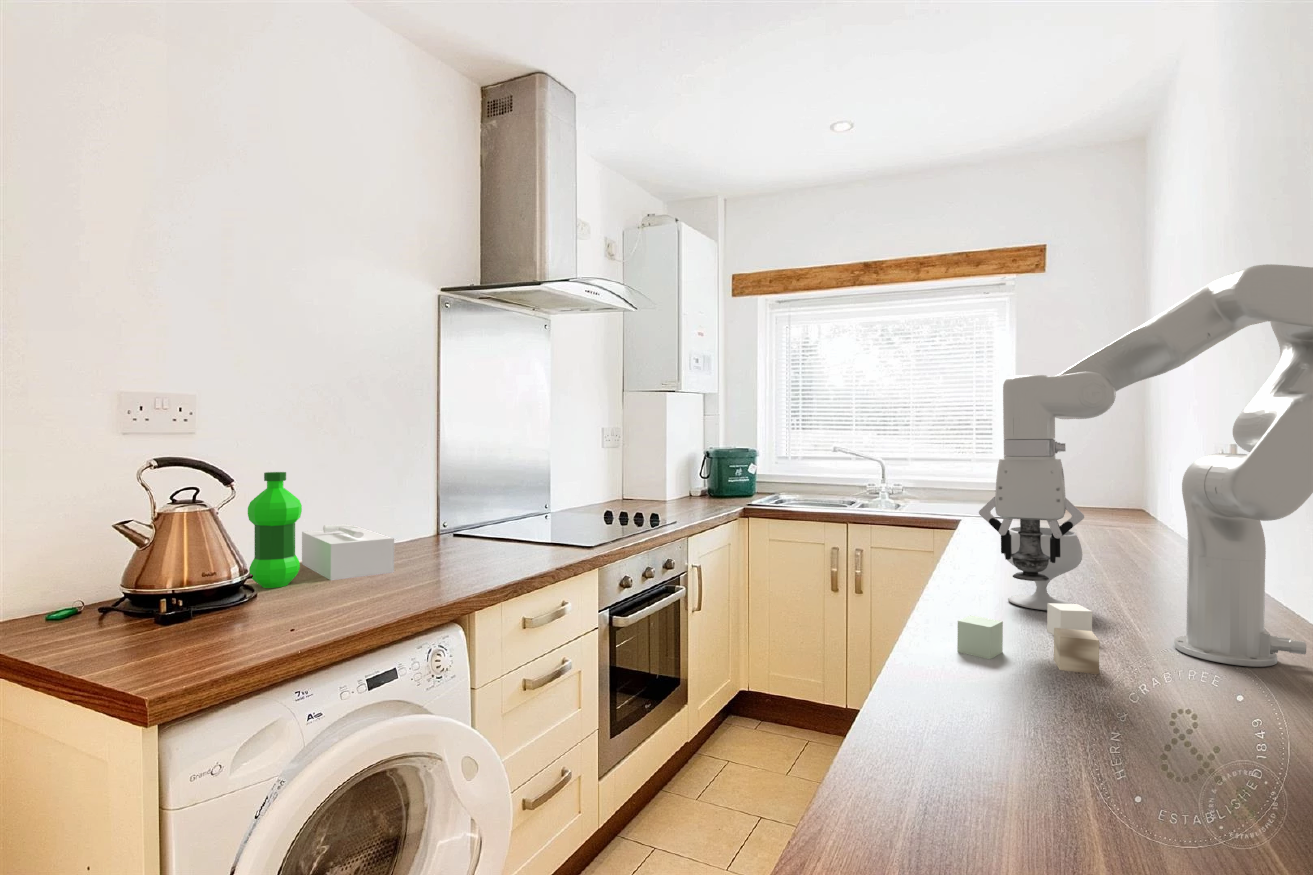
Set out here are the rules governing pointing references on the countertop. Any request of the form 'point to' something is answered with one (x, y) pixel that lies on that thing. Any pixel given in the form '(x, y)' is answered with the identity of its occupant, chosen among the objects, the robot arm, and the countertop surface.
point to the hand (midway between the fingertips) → (1030, 558)
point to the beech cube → (1076, 650)
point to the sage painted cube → (980, 637)
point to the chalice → (1048, 567)
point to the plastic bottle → (274, 533)
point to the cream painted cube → (1068, 617)
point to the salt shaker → (1030, 552)
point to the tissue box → (347, 552)
